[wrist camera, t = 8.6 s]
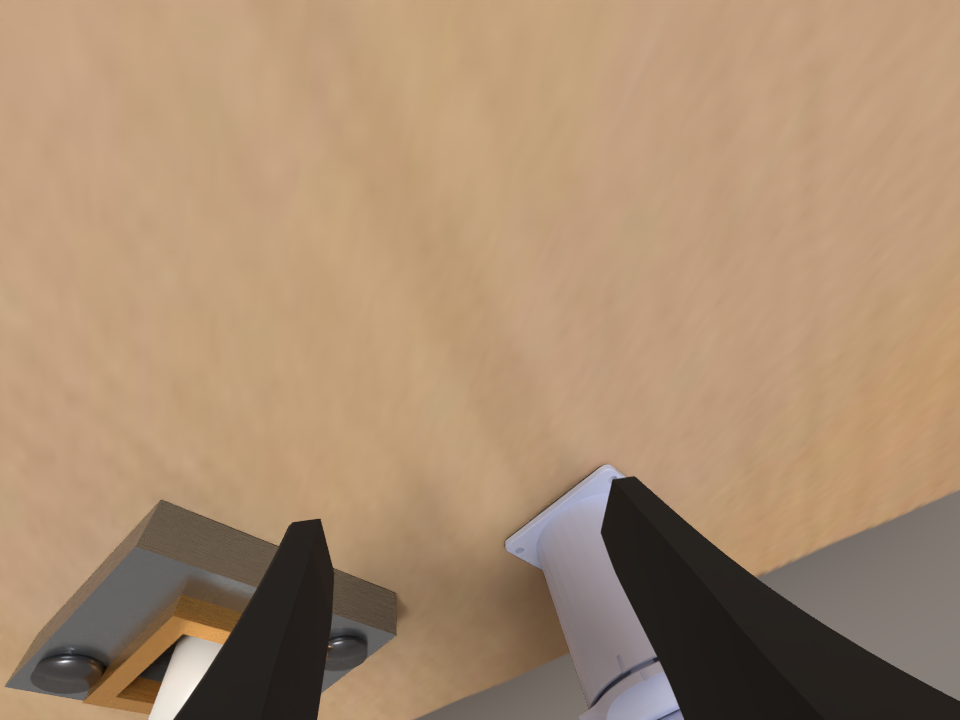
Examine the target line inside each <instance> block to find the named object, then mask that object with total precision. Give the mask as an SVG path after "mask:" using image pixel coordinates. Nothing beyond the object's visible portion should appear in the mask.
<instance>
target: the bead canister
mask: <svg viewBox="0 0 960 720" xmlns="http://www.w3.org/2000/svg"><path fill="white" fill-rule="evenodd" d="M222 646H223V644H219V643H215V642H212V641H208V640H204V639H200V638H197V637H193V636H189V635H185V634H182V635H181V636H180V637H179V639H178V641H177V644H176V647H175V649H174V652H173V655H172V657H171V660H170V663H169V665H168V668H167V671H166V673H165V676H164V679H163V681H162V684H161V687H160V689H159V692H158V695H157V697H156V700H155V703H154V705H153V708H152V711H151V713H150V716H149V719H148V720H173V719H174V718H175V716H176V715H177V713H178V712H179V711H180V709H181V708H182V706H183V705H184V704H185V702H186V701H187V699H188V698H189V696H190V695H191V693H192V692H193V691H194V689H195V688H196V686H197V685H198V683H199V682H200V680H201V679H202V677H203V676H204V674H205V673H206V671H207V670H208V668H209V667H210V665H211V663H212V662H213V660H214V659H215V657H216V655H217V654H218V652H219V651H220V649H221V648H222Z"/></svg>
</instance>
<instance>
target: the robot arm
mask: <svg viewBox="0 0 960 720" xmlns="http://www.w3.org/2000/svg"><path fill="white" fill-rule="evenodd" d="M505 548H506V550H507V551H508V552H509V553H511V554H513V555H515V556H517V557H519V558H521V559H522V560H524V561H526V562H528V563H530V564H532V565H534V566H535V567H537V568H539V569H541V570H543V573H544V576H545V579H546V582H547V585H548V588H549V591H550V594H551V597H552V600H553V603H554V606H555V609H556V612H557V615H558V618H559V621H560V624H561V627H562V630H563V633H564V636H565V639H566V642H567V645H568V648H569V651H570V654H571V657H572V660H573V663H574V666H575V669H576V672H577V675H578V678H579V681H580V685H581V688H582V691H583V694H584V696H585V700H586V703H587V706H588V709H589V710H588V711H586V712H584V713H583V714H581V715H579V717H578V719H579V720H960V701H958V700H956V699H954V698H952V697H950V696H948V695H946V694H944V693H943V692H941V691H939V690H937V689H935V688H933V687H931V686H929V685H928V684H926V683H924V682H922V681H920V680H918V679H917V678H915V677H913V676H911V675H909V674H907V673H905V672H904V671H902V670H900V669H898V668H896V667H895V666H893V665H891V664H889V663H888V662H886V661H884V660H882V659H881V658H879V657H877V656H875V655H874V654H872V653H870V652H868V651H866V650H865V649H863V648H862V647H860V646H858V645H857V644H855V643H854V642H852V641H850V640H849V639H847V638H845V637H844V636H842V635H840V634H839V633H837V632H836V631H834V630H832V629H831V628H829V627H827V626H826V625H824V624H823V623H821V622H820V621H818V620H816V619H815V618H813V617H812V616H810V615H809V614H807V613H806V612H804V611H803V610H801V609H800V608H798V607H797V606H795V605H794V604H792V603H791V602H790V601H788V600H787V599H785V598H784V597H782V596H781V595H779V594H778V593H776V592H775V591H774V590H772V589H771V588H769V587H768V586H766V585H765V584H764V583H762V582H761V581H759V580H758V579H757V578H756V577H754V576H753V575H752V574H750V573H749V572H748V571H747V570H745V569H744V568H743V567H741V566H740V565H739V564H737V563H736V562H735V561H733V560H732V559H731V558H730V557H728V556H727V555H726V554H725V553H723V552H722V551H721V550H720V549H718V548H717V547H716V546H715V545H713V544H712V543H711V542H710V541H709V540H707V539H706V538H705V537H704V536H703V535H701V534H700V533H699V532H698V531H697V530H695V529H694V528H693V527H692V526H691V525H689V524H688V523H687V522H686V521H685V520H684V519H683V518H681V517H680V516H679V515H678V514H677V513H676V512H674V511H673V510H672V509H671V508H670V507H669V506H668V505H667V504H665V503H664V502H663V501H662V500H661V499H660V498H659V497H657V496H656V495H655V494H654V493H653V492H652V491H651V490H650V489H648V488H647V487H646V486H645V485H644V484H643V483H642V482H640V481H639V480H638V479H637V478H636V477H635V476H633V477H625V476H624V475H623V474H622V473H620V472H619V471H618V470H617V469H615V468H614V467H613V466H612V465H603V466H601V467H600V468H598V469H597V470H596V471H595V472H593V473H592V474H591V475H589V476H588V477H587V478H586V479H584V480H583V481H582V482H580V483H579V484H578V485H577V486H575V487H574V488H573V489H571V490H570V491H569V492H568V493H566V494H565V495H564V496H562V497H561V498H560V499H558V500H557V501H556V502H555V503H553V504H552V505H551V506H549V507H548V508H547V509H546V510H544V511H543V512H542V513H540V514H539V515H538V516H537V517H535V518H534V519H533V520H531V521H530V522H529V523H528V524H526V525H525V526H524V527H522V528H521V529H520V530H519V531H517V532H516V533H515V534H513V535H512V536H511V537H510V538H508V539H507V540H506V541H505ZM333 591H334V570H333V567H332V563H331V559H330V555H329V551H328V547H327V543H326V539H325V535H324V531H323V527H322V523H321V519H314V520H306V521H299V522H293V523H292V524H291V525H290V526H289V527H288V529H287V531H286V533H285V535H284V537H283V539H282V541H281V543H280V545H279V548H278V550H277V552H276V554H275V555H274V557H273V559H272V561H271V563H270V565H269V567H268V569H267V571H266V573H265V574H264V576H263V578H262V580H261V582H260V584H259V586H258V587H257V589H256V591H255V593H254V594H253V596H252V598H251V599H250V601H249V603H248V605H247V606H246V608H245V610H244V612H243V613H242V615H241V617H240V619H239V620H238V622H237V624H236V625H235V627H234V629H233V630H232V632H231V633H230V635H229V637H228V638H227V640H226V641H225V643H224V644H223V646H222V648H221V649H220V651H219V652H218V654H217V655H216V657H215V659H214V660H213V662H212V663H211V665H210V667H209V668H208V670H207V671H206V673H205V674H204V676H203V677H202V679H201V680H200V682H199V683H198V685H197V686H196V688H195V689H194V691H193V692H192V693H191V695H190V696H189V698H188V699H187V701H186V702H185V704H184V705H183V706H182V708H181V709H180V711H179V712H178V713H177V715H176V716H175V718H174V719H173V720H317V717H318V710H319V703H320V697H321V690H322V684H323V677H324V671H325V664H326V657H327V651H328V644H329V637H330V630H331V623H332V611H333Z"/></svg>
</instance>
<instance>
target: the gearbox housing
mask: <svg viewBox="0 0 960 720" xmlns="http://www.w3.org/2000/svg"><path fill="white" fill-rule="evenodd" d="M278 548H279V547H278V546H275V545H273V544H270V543H268V542H265V541H263V540H260V539H258V538H255V537H253V536H250V535H248V534H245V533H243V532H240V531H238V530H235V529H233V528H230V527H228V526H225V525H223V524H220V523H218V522H215V521H212V520H210V519H207V518H205V517H202V516H200V515H197V514H195V513H192V512H190V511H187V510H185V509H182V508H180V507H177V506H175V505H172V504H170V503H167V502H165V501H162V500H160V501H159V503H158V504H157V505H156V506H155V507H154V508H153V509H152V510H151V511H150V512H149V513H148V514H147V516H146V517H145V518H144V519H143V520H142V521H141V522H140V523H139V524H138V525H137V526H136V528H135V529H134V530H133V531H132V532H131V533H130V534H129V535H128V536H127V537H126V538H125V540H124V541H123V542H122V543H121V544H120V545H119V546H118V547H117V548H116V549H115V550H114V552H113V553H112V554H111V555H110V556H109V557H108V558H107V559H106V560H105V561H104V562H103V564H102V565H101V566H100V567H99V568H98V569H97V570H96V571H95V572H94V573H93V574H92V576H91V577H90V578H89V579H88V580H87V581H86V582H85V583H84V584H83V585H82V586H81V588H80V589H79V590H78V591H77V592H76V593H75V594H74V595H73V596H72V597H71V598H70V600H69V601H68V602H67V603H66V604H65V605H64V606H63V607H62V608H61V609H60V610H59V612H58V613H57V614H56V615H55V616H54V617H53V618H52V619H51V620H50V621H49V622H48V623H47V625H46V626H45V627H44V628H43V629H42V630H41V631H40V632H39V633H38V635H37V636H36V638H35V640H34V641H33V643H32V644H31V646H30V647H29V649H28V650H27V652H26V654H25V655H24V657H23V658H22V660H21V661H20V663H19V665H18V666H17V668H16V669H15V671H14V672H13V674H12V676H11V677H10V679H9V680H8V682H7V683H6V685H5V687H9V688H14V689H20V690H26V691H32V692H37V693H43V694H49V695H54V696H60V697H66V698H72V699H77V700H83V703H86V704H92V705H97V706H103V707H109V708H115V709H121V710H126V711H132V712H138V713H144V714H150V713H151V711H152V708H153V705H154V703H155V700H156V697H157V695H158V692H159V689H160V687H161V684H162V681H163V679H164V676H165V673H166V671H167V668H168V665H169V663H170V660H171V657H172V655H173V652H174V649H175V647H176V644H177V641H178V639H179V637H180V636H181V635H182V634H185V635H189V636H193V637H197V638H200V639H204V640H208V641H212V642H215V643H219V644H224V643H225V641H226V640H227V638H228V637H229V635H230V633H231V632H232V630H233V629H234V627H235V625H236V624H237V622H238V620H239V619H240V617H241V615H242V613H243V612H244V610H245V608H246V606H247V605H248V603H249V601H250V599H251V598H252V596H253V594H254V593H255V591H256V589H257V587H258V586H259V584H260V582H261V580H262V578H263V576H264V574H265V573H266V571H267V569H268V567H269V565H270V563H271V561H272V559H273V557H274V555H275V554H276V552H277V550H278ZM333 570H334V591H333V611H332V623H331V630H330V637H329V644H328V651H327V657H326V664H325V671H324V677H323V684H322V690H321V693H322V692H323V691H325V690H326V689H327V688H329V687H330V686H331V685H333V684H334V683H335V682H336V681H338V680H339V679H340V678H342V677H343V676H344V675H346V674H347V673H348V672H349V671H351V670H352V669H353V668H355V667H357V666H358V665H360V664H362V663H363V662H364V661H365V660H366V658H368V657H369V656H370V655H372V654H373V653H374V652H375V651H377V650H378V649H379V648H381V647H382V646H383V645H385V644H386V643H387V642H389V641H390V640H391V639H392V638H394V637H395V636H396V635H397V633H396V593H394V592H391V591H389V590H386V589H384V588H381V587H378V586H376V585H373V584H371V583H368V582H366V581H363V580H361V579H358V578H356V577H353V576H351V575H348V574H346V573H343V572H341V571H338V570H336V569H333Z"/></svg>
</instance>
